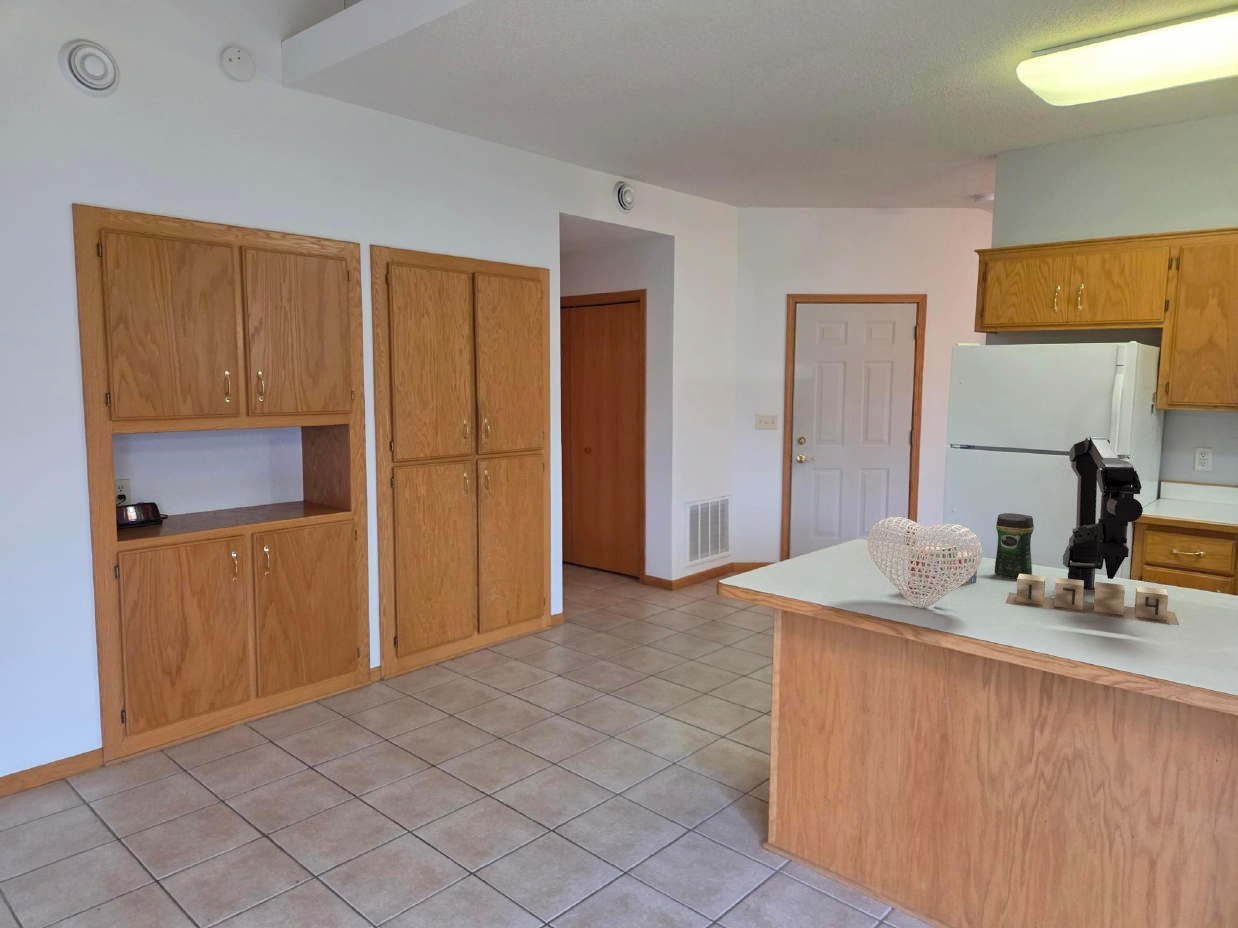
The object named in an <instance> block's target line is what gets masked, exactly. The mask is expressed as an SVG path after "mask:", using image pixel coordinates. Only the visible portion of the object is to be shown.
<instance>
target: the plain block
mask: <svg viewBox="0 0 1238 928" xmlns="http://www.w3.org/2000/svg"><path fill="white" fill-rule="evenodd" d="M1094 587H1095V590H1094V598H1093V599H1094V611H1097V612H1105V613H1113V614H1121V615H1123V613H1124V606H1125V594H1126V592H1125V591H1126V588H1125V584H1119V583H1109V582H1102V581H1094Z"/></svg>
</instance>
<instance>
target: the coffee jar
mask: <svg viewBox="0 0 1238 928" xmlns="http://www.w3.org/2000/svg"><path fill="white" fill-rule="evenodd" d="M996 519H997V520H996V526H995V528H996V529H995V530H996V532H997V547H996V555H995V561H994V574H995V575H997V576H999V577H1002V578H1007V577H1009V578H1008V579H1014V580H1015V579H1016V580H1017V578H1018V575H1019V574H1028V575H1033V565H1032V564H1033V563H1032V551H1031V547H1032V546H1031V539H1032V534H1033V532H1034V529H1035V527H1034V526H1035V525H1034V518H1033V516H1032V515H1027V514H1020V513H1012V512H1011V513H1010V512H1009V513H1007V512H1004V513H1000V514H998V516H997V518H996Z"/></svg>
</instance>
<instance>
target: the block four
mask: <svg viewBox="0 0 1238 928" xmlns="http://www.w3.org/2000/svg"><path fill="white" fill-rule="evenodd" d="M1134 601H1135V602H1134V607H1135V615H1136V616H1137V617H1145V618H1153V619H1161V620H1167V611H1168V602H1169V594H1168V592H1167V589H1165V588H1158V587H1157V588H1155V587H1149V586H1147V587H1146V586H1139V585H1136V586H1135V600H1134Z"/></svg>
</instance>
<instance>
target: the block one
mask: <svg viewBox="0 0 1238 928" xmlns="http://www.w3.org/2000/svg"><path fill="white" fill-rule="evenodd" d="M1045 588H1046V576H1044V575H1037V574H1035V575H1034V574H1032V575H1028V574H1019V575H1018V578H1017V579H1016V593H1017V596H1016V602H1024V603H1032V604H1041V605H1043V602H1044V597H1045V591H1046V590H1045Z"/></svg>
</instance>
